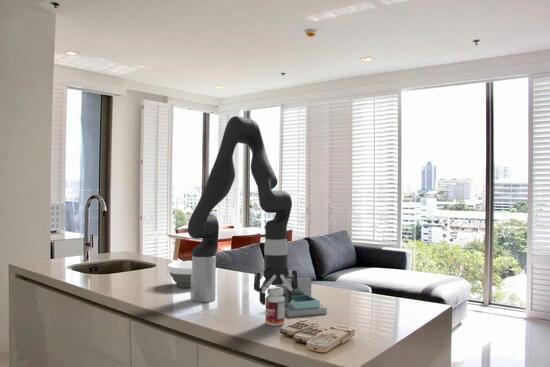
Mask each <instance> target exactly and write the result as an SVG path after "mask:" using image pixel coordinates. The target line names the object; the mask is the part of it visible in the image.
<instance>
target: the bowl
mask: <svg viewBox="0 0 550 367" xmlns="http://www.w3.org/2000/svg"><path fill="white" fill-rule="evenodd" d="M167 270H168V273H169V275H170V276H171V278H172V280H173V281H174V283H175V284H176V286H177V287H178V286H180V287H179V288H181V287H186V288H185V289H191V274H192V260H189V261H175V262H171V263H169V264H167Z"/></svg>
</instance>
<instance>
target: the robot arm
mask: <svg viewBox="0 0 550 367" xmlns="http://www.w3.org/2000/svg"><path fill="white" fill-rule="evenodd" d="M238 144H243V145H247V146H248V148H249V149H250V151H251V155H252V156H251V161H250V172H251V175H252V178H253V179H254V182H255V185H256V186H257V187H256V188H257V193H258V195H257V196H258V202H259V206H260V208H261V209H262V210H263V212H265V213H269V214H275V215H274V217H273V219H271V220H268V221H266V223H265V227H264V234H265V235H264V238H265V239H264V248H263V253H264V257H263V258H264V259H263V260H264V263H263V264H264V265H263V267H264V269H263V272H261V271H254V275H253V276H254V278H253V290H254V291H255V292H258V293H259V303H260V304H261V305H262V306H266V291H268V288H269V287H271V285H272V286H275V285H276V284H278V285H282V284H283V285H284V286H285V287H286V289H287V290H286V302H287V303H290V301H291V300H292V290H294V289H297V288H298V282H297V279H298V271H297V270H295V269H290V270H288V267H289V266H288V264H289V263H288V249H289V246H288V239H287V238H288V224H289V219H290V215H291V211H292V206H293V201H292V197H291V195H290V193H289V192H287V191H284V190H282V191H280V190H276V191H275V190H274V189H275V188H276V187H277V185H278V179H277V176H276V173H275V171H274V169H273V167H272V166H271V163H270V161H269V158H268V155H267V152H266V151H267V150H266V147H265V143H264V140H263V135H262V133H261V128H260V126H259V124H258V121H256V120H254V119H251V118H247V117H243V116H238V115H237V116H236V115H234V116H232V117H231V118H229V120H228V122H227V124H226V126H225V129H224V132H223V135H222V140H221V143H220V146H219V150H218V152H217V155H216V158H215V161H214V163H213V165H212V169H210V173H209V175H208V178H207V181H206V183H205V186H204V189H203V190H202V194H201V196H200V198H199V201H198V202H197V204H196V207H195V209H194V210H193V211H192V214H191V216H190V217H189V220H188V224H187V233H188V235H189V237H191V238H192V239H195V240H196V239H197V240H200V239H202V240H201V242H200V243H199V244H198V245H196V246H195V247H193V248H192V252H191V253H192V254H191V255H192V256H191V261H192V274H191V288H190V301H192V302H193V303H209V302H214V301H215V300H216V289H217V288H216V285H217V284H216V282H217V281H216V278H217V274H216V272H217V271H216V270H217V269H216V267H217V265H216V264H217V250H218V245H219V233H220V232H219V230H220V227H219V226H220V225H219V220H218V218H217V216H216V215H214V214H211V212H212V211H213V210H214V208H216V206H217V205H218V204H219V203H221V202H222V201H223V200H224V199H225V198H226V196H228V194H229V193H230V191H231V188H232V186H233V184H234V181H235V179H236V170H235V164H234V158H233V157H234V152H235V149H236V147H237V145H238ZM273 190H274V191H273ZM288 276H289V277H290V279H291V285H290V284H289V282H288V281H287V280H286V279H288ZM263 277H264V280H263V282H262V285H261V280H262V278H263Z"/></svg>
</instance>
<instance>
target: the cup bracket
mask: <svg viewBox="0 0 550 367" xmlns="http://www.w3.org/2000/svg"><path fill="white" fill-rule="evenodd" d="M286 280H287V281H288V282H289V284H290V285H291V278H286ZM297 282H298V288H297V289H294V290H292V300H291V301H290V303H287V302H286V290H287V289H286V287H285V286H284V285H283V284H282V285H278V284H276V285H274V287H282V288H283V292H284V294H283V295H282V296H284V298H285V316H287V317H288V318H296V317H297V318H298V317H299V318H300V317H308V316H318V315H327V314H328V312H327V310H328V309H327V307H326V306H324V305H323V304H320V300H319V299H318V298H315V297H314V296H312V278H311V277H300V278H299V277H297Z"/></svg>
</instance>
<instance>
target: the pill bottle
mask: <svg viewBox="0 0 550 367" xmlns="http://www.w3.org/2000/svg"><path fill="white" fill-rule="evenodd" d="M283 294H284V292H283V288H282V287H275V286H269V288H267V296H265V318H264V319H265V324H266V325H267V326H271V327H278V326H283V325H284V324H285V316H286V315H285V298H284V296H282V295H283Z"/></svg>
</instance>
